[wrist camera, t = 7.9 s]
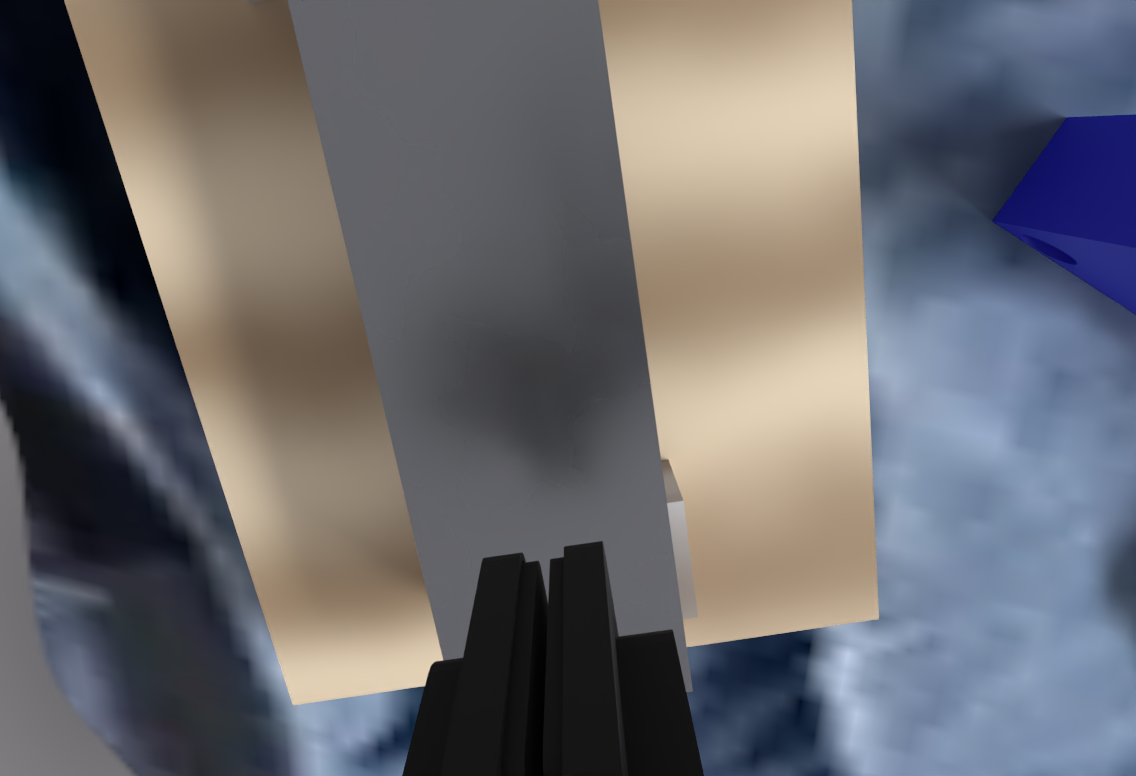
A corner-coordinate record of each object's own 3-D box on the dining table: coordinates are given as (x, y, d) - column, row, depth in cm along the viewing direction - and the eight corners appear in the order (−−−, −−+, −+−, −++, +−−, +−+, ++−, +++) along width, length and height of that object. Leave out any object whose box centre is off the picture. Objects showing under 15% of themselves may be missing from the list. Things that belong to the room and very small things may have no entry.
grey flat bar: (276, -154, 13) (233, -202, 12) (563, -206, 13) (563, -264, 11) (466, 680, 18) (456, 735, 16) (681, 648, 18) (695, 700, 16)
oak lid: (105, -89, 18) (-135, -212, 12) (792, -213, 18) (926, -411, 11) (323, 638, 24) (242, 814, 18) (839, 560, 24) (943, 713, 17)
